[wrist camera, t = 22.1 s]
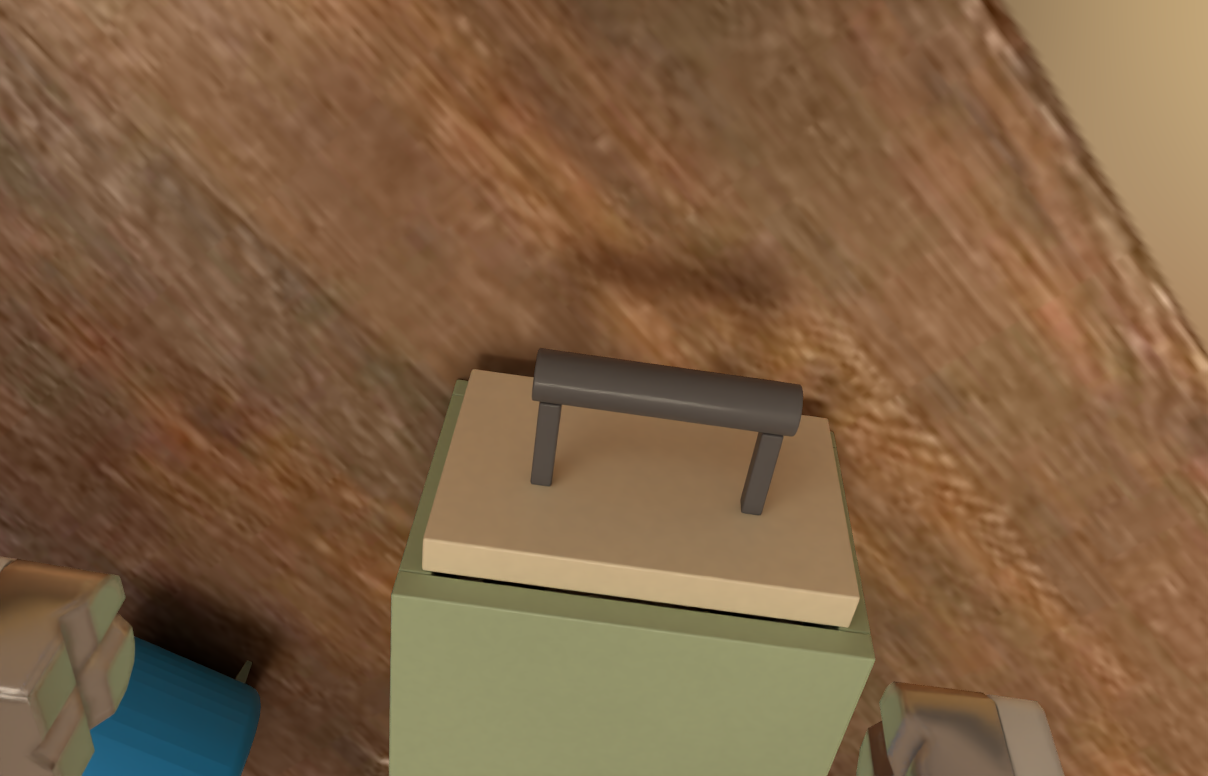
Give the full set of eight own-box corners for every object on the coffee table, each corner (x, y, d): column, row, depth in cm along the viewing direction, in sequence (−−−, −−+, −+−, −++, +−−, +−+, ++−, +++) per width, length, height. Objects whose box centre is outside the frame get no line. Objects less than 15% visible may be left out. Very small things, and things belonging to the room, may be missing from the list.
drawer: (479, 249, 32) (426, 408, 25) (864, 304, 32) (909, 475, 25) (452, 664, 43) (411, 848, 36) (738, 702, 43) (747, 892, 36)
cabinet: (456, 378, 36) (390, 594, 28) (834, 431, 36) (876, 660, 28) (439, 682, 45) (386, 909, 37) (740, 722, 45) (752, 956, 37)
